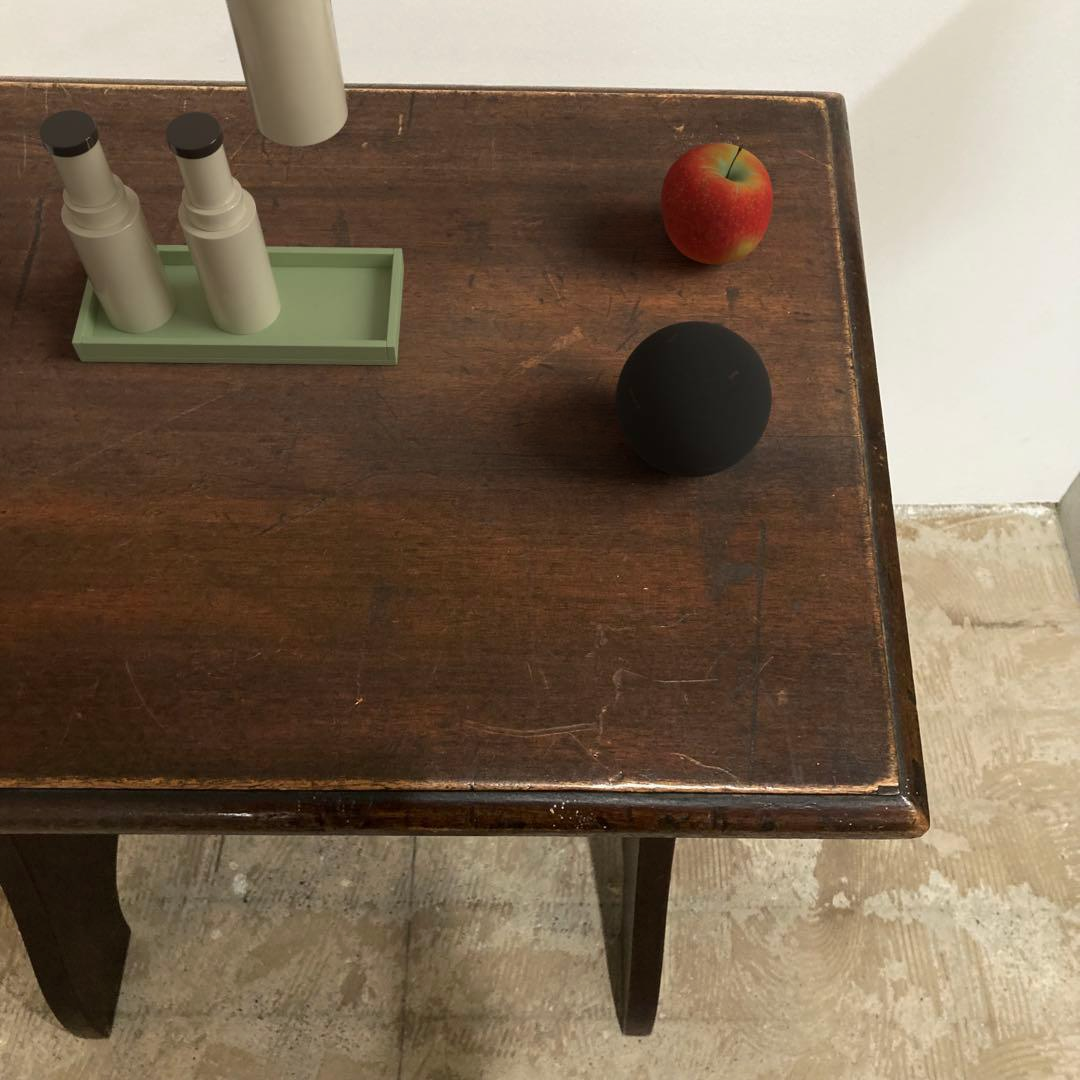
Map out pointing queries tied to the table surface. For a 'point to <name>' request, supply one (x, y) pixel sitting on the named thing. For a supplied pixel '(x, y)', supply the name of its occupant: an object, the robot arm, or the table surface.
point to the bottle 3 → (291, 68)
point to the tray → (297, 333)
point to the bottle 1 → (107, 227)
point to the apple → (716, 203)
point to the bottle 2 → (222, 229)
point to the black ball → (693, 399)
